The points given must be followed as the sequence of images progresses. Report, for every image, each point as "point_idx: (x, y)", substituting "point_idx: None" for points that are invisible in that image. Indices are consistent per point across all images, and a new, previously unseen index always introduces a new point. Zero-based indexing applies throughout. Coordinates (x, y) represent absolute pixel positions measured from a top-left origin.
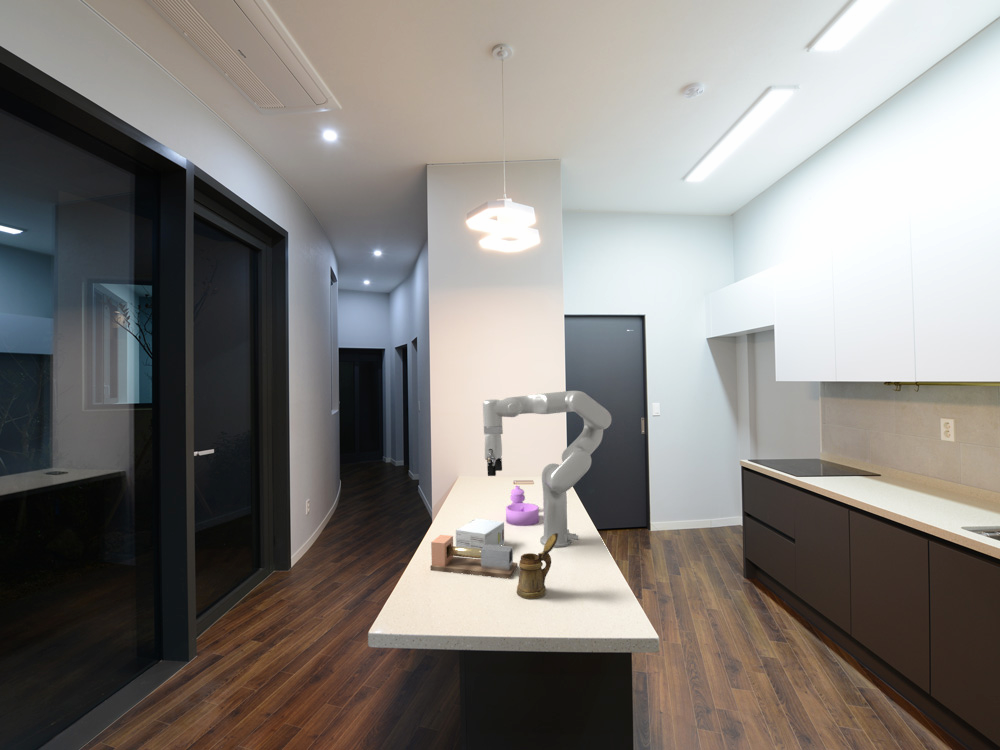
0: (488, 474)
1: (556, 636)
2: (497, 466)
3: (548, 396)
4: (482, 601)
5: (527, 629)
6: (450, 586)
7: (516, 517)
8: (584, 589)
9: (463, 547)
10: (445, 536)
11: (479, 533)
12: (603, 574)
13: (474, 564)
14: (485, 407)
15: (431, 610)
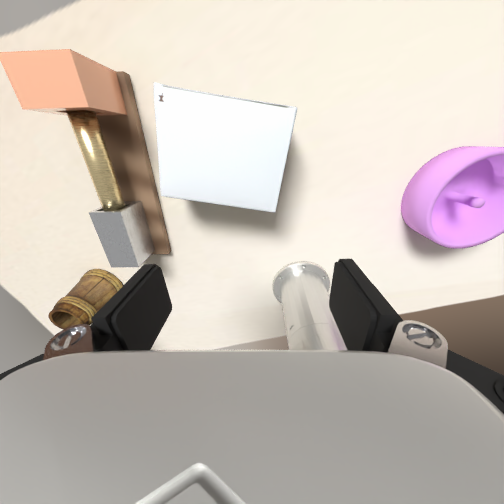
0: (142, 272)
1: (38, 320)
2: (342, 303)
3: None
4: (38, 234)
5: (27, 296)
6: (37, 164)
7: (419, 195)
8: None
9: (89, 158)
10: (68, 81)
11: (160, 178)
12: (197, 344)
13: (121, 182)
14: None
15: None
